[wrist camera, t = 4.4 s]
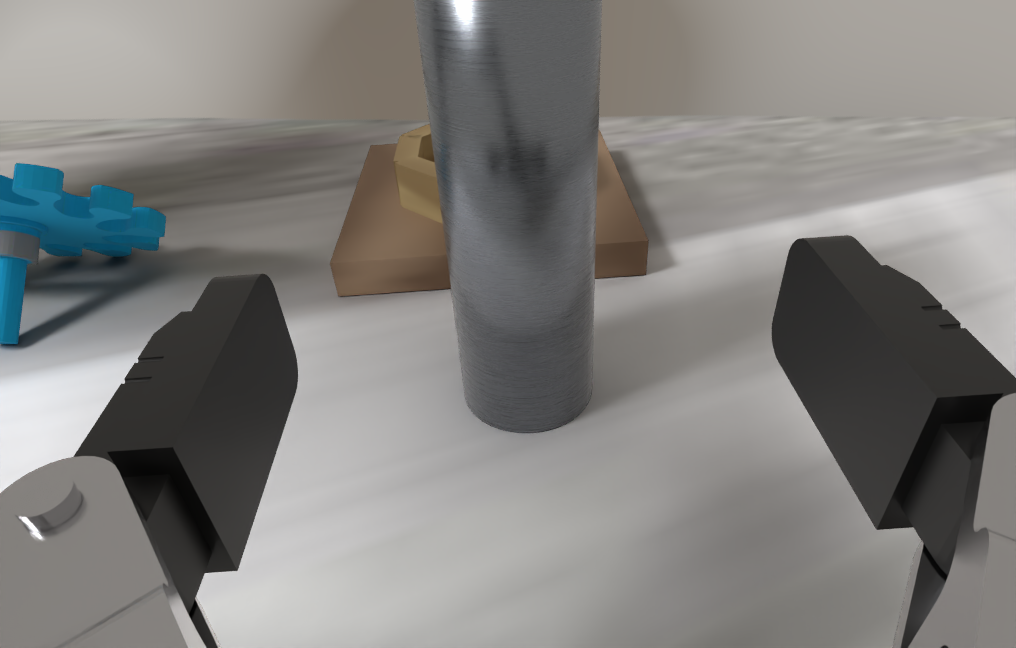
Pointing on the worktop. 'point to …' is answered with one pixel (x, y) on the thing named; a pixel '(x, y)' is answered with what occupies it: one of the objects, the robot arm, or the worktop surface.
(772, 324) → the robot arm
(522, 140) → the pin
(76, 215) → the blue irregular figure
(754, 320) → the worktop surface
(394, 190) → the stand
